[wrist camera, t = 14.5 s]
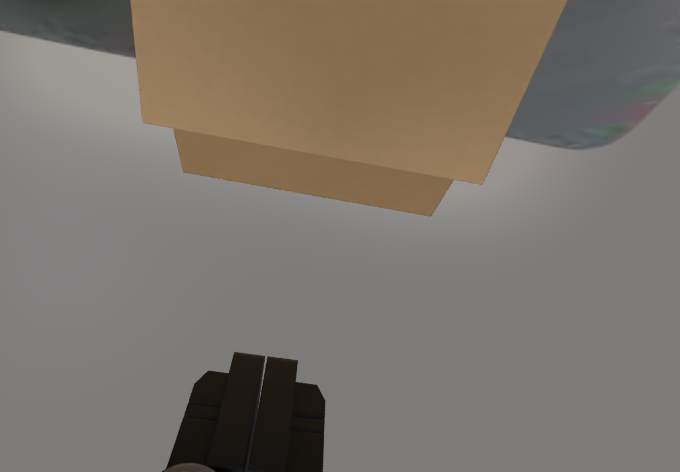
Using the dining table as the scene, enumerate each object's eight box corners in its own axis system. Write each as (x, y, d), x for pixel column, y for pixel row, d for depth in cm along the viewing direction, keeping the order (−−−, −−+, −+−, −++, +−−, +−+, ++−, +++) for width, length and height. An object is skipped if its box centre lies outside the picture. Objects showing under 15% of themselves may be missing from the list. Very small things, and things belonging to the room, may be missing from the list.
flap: (124, -108, 16) (119, -102, 16) (570, -17, 17) (573, -10, 17) (145, 115, 22) (141, 123, 22) (481, 177, 23) (482, 185, 22)
